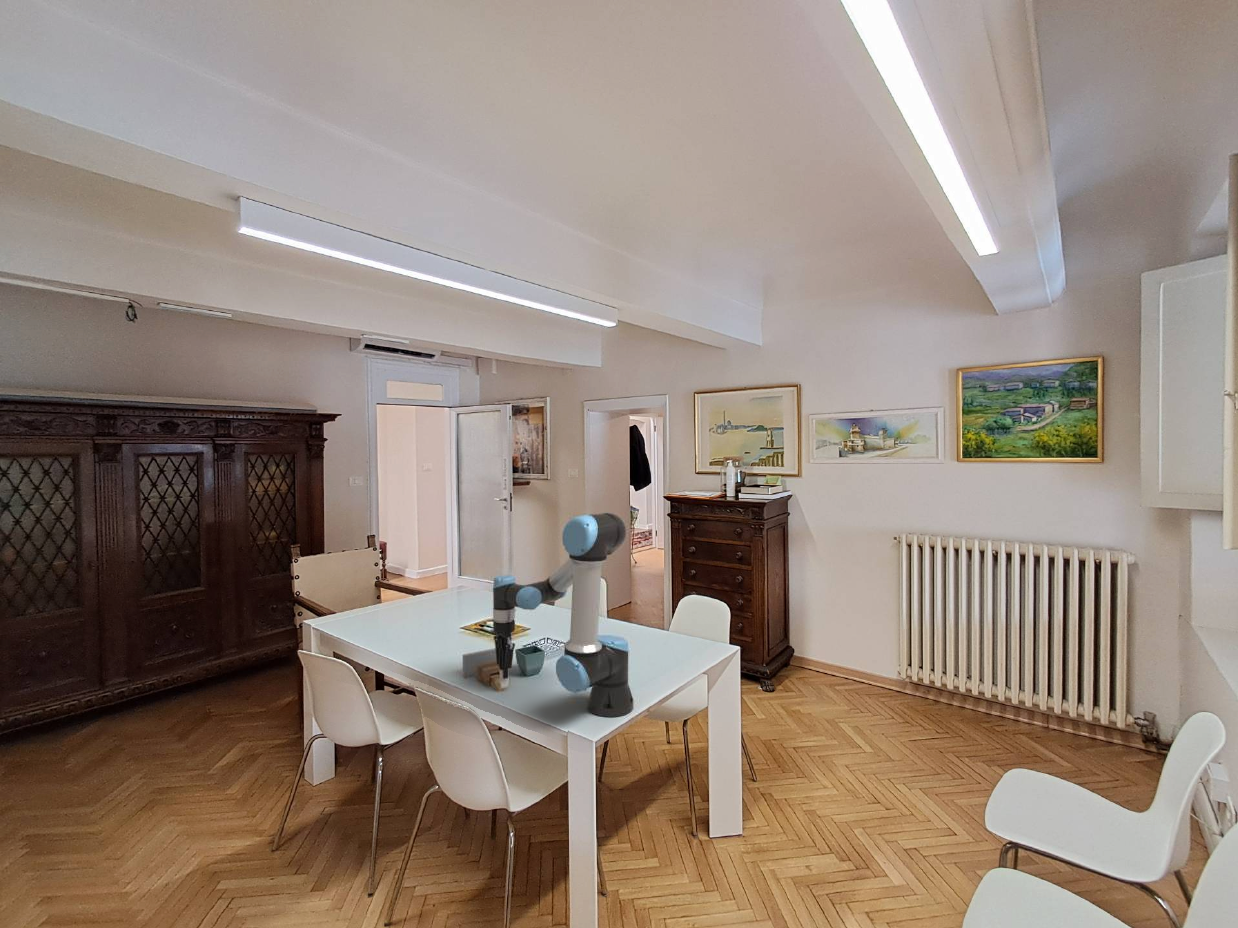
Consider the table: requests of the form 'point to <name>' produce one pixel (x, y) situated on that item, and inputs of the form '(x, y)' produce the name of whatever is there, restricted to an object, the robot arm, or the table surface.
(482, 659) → the wall
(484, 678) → the block
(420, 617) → the table surface
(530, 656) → the flower pot
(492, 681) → the dowel
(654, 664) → the table surface
